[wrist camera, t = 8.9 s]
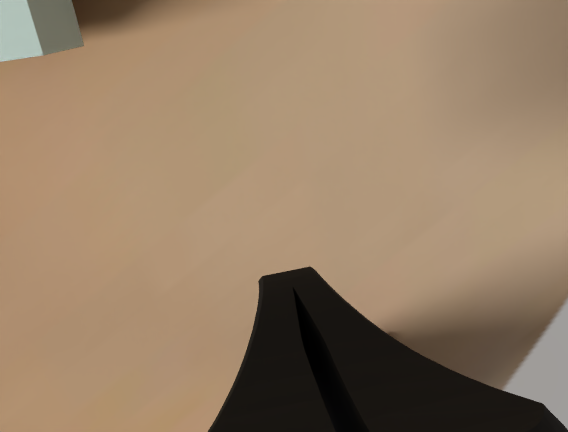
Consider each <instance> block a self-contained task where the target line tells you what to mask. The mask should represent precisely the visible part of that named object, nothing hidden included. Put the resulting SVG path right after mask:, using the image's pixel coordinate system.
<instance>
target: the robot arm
mask: <svg viewBox="0 0 568 432" xmlns="http://www.w3.org/2000/svg"><path fill="white" fill-rule="evenodd" d="M258 282H259V300H258V307H257V312H256V317H255V321H254V326H253V330H252V334H251V337H250V340H249V344H248V347H247V350H246V353H245V356H244V359H243V362H242V364H241V367H240V370H239V372H238V374H237V377H236V379H235V381H234V384H233V386H232V388H231V390H230V392H229V394H228V396H227V398H226V400H225V402H224V404H223V406H222V408H221V410H220V412H219V414H218V416H217V417H216V419H215V421H214V423H213V424H212V426H211V427H210V429H209V430H208V432H568V430H567V428H565V426H564V425H563V424H562V423H561V422H560V421H559V420H558V419H557V418H556V417H555V416H554V415H553V414H552V413H551V412H550V411H549V410H548V409H547V408H546V407H545V405H544V404H542V403H539V402H536V401H533V400H530V399H527V398H524V397H521V396H518V395H515V394H511V393H508V392H505V391H502V390H499V389H496V388H493V387H491V386H488V385H486V384H483V383H481V382H478V381H476V380H473V379H471V378H468V377H466V376H463V375H461V374H459V373H457V372H454V371H452V370H450V369H448V368H446V367H444V366H442V365H440V364H438V363H436V362H434V361H432V360H430V359H428V358H426V357H424V356H422V355H420V354H419V353H417V352H415V351H413V350H411V349H410V348H408V347H407V346H405V345H403V344H402V343H400V342H399V341H397V340H395V339H394V338H393V337H391V336H390V335H388V334H387V333H385V332H384V331H382V330H381V329H380V328H378V327H377V326H376V325H374V324H373V323H372V322H370V321H369V320H368V319H367V318H365V317H364V316H363V315H362V314H360V313H359V312H358V311H357V310H356V309H355V308H353V307H352V306H351V305H350V304H349V303H348V302H346V301H345V300H344V299H343V298H342V297H341V296H340V295H339V294H338V293H337V292H336V291H335V290H334V289H333V288H331V287H330V286H329V285H328V284H327V282H326V281H325V280H324V279H323V278H322V277H321V276H320V275H319V274H318V273H317V272H316V271H315V270H314V269H313V268H312V267H306V268H301V269H296V270H291V271H286V272H281V273H276V274H271V275H266V276H262V277H261V278H260V280H259V281H258Z"/></svg>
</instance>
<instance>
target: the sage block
mask: <svg viewBox="0 0 568 432" xmlns="http://www.w3.org/2000/svg"><path fill="white" fill-rule="evenodd" d="M82 46H84V44H83V40H82V36H81V33H80V29H79V25H78V21H77V18H76V14H75V10H74V7H73V3H72V0H0V62H1V61H8V60H15V59H21V58H28V57H35V56H42V55H47V54H51V53H55V52H60V51H64V50H69V49H73V48H77V47H82Z"/></svg>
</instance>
